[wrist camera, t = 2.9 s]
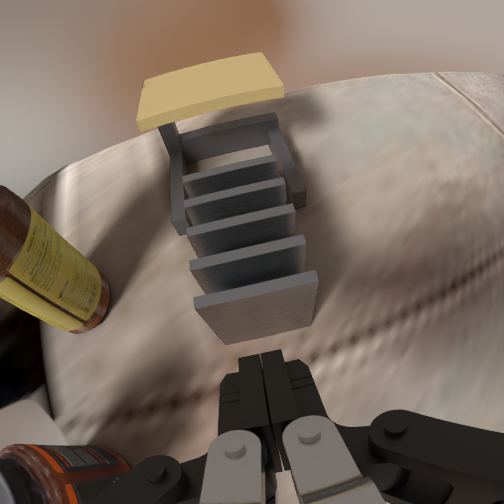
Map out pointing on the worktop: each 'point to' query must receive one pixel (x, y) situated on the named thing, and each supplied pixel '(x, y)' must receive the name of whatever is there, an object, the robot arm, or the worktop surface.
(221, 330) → the heatsink block
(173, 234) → the worktop surface
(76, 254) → the sauce bottle
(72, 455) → the supplement bottle
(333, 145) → the worktop surface
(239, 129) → the grey and yellow stand
